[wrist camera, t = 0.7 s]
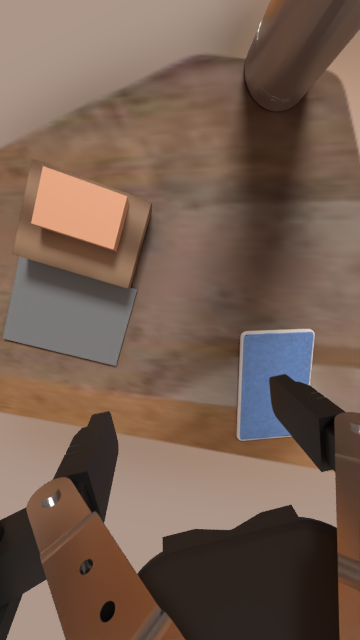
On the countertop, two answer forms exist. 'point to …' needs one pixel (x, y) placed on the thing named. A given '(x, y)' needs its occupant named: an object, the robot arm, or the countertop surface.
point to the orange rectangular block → (79, 209)
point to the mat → (68, 312)
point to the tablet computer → (255, 371)
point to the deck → (76, 252)
